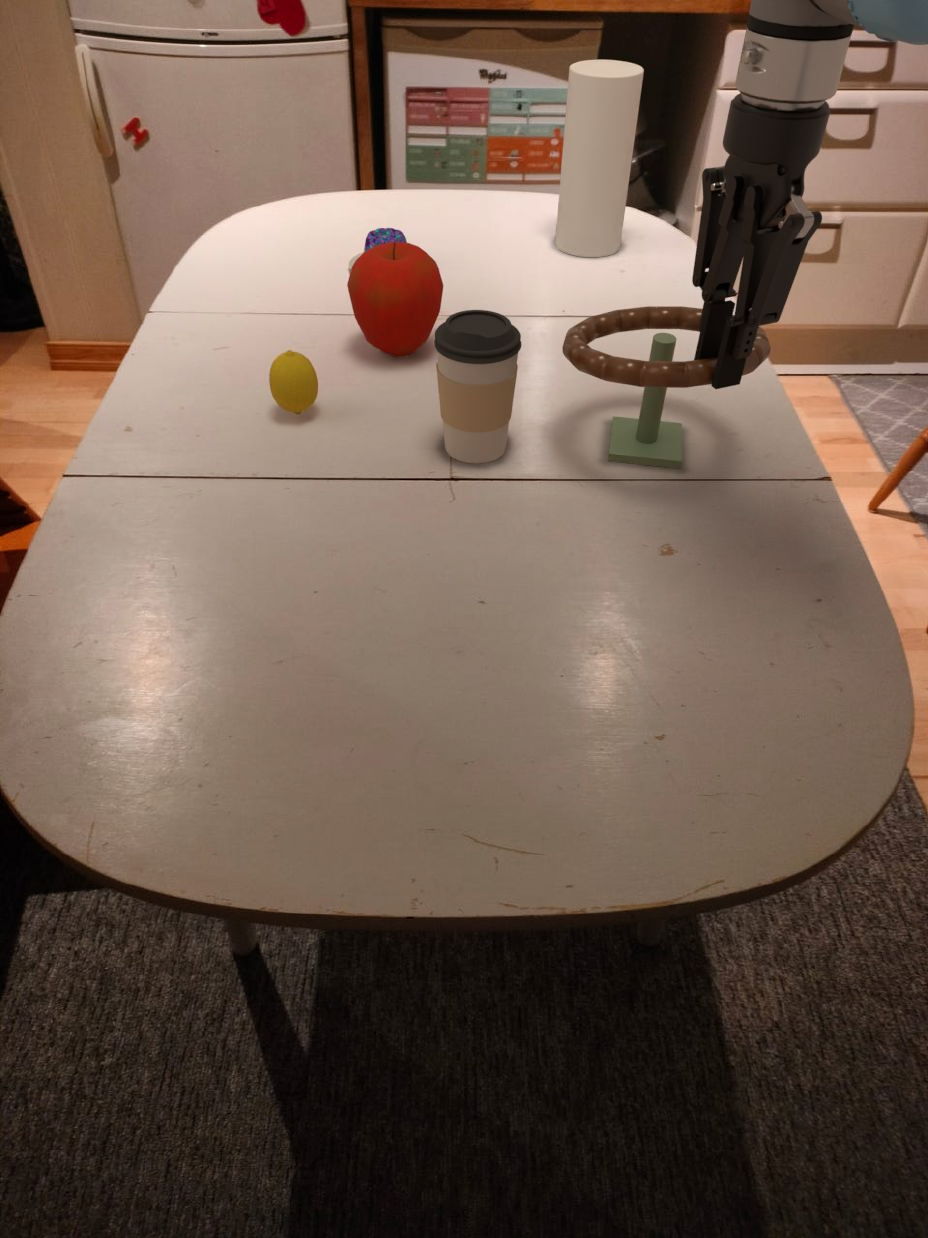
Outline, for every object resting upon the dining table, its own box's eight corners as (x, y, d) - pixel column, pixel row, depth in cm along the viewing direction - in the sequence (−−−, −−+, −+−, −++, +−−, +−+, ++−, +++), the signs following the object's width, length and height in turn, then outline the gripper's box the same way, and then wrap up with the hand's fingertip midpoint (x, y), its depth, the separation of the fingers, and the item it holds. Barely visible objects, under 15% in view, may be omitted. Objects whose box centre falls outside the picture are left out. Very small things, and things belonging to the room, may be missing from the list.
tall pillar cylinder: (602, 262, 134) (624, 79, 117) (543, 247, 138) (556, 69, 121) (630, 241, 141) (655, 65, 123) (573, 227, 145) (590, 55, 127)
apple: (368, 325, 118) (360, 219, 108) (452, 333, 116) (452, 227, 106) (341, 367, 109) (330, 256, 99) (431, 377, 107) (429, 265, 98)
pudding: (332, 271, 131) (329, 236, 127) (381, 247, 138) (379, 213, 134) (393, 290, 126) (392, 255, 122) (441, 264, 133) (440, 230, 129)
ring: (757, 325, 95) (760, 303, 94) (777, 393, 79) (782, 367, 77) (572, 324, 99) (572, 303, 97) (553, 389, 82) (554, 364, 81)
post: (680, 430, 99) (703, 324, 90) (680, 468, 93) (705, 359, 84) (611, 423, 100) (627, 317, 91) (607, 460, 94) (624, 351, 85)
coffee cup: (449, 420, 100) (449, 295, 90) (523, 432, 98) (532, 307, 88) (425, 461, 94) (421, 332, 83) (503, 475, 92) (510, 345, 82)
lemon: (322, 423, 99) (314, 360, 94) (274, 427, 99) (264, 364, 93) (320, 399, 103) (313, 337, 98) (274, 403, 103) (264, 341, 97)
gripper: (684, 77, 69) (640, 347, 86) (807, 129, 59) (729, 425, 75) (761, 70, 71) (703, 335, 88) (892, 119, 61) (799, 409, 77)
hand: (715, 376), depth 81 cm, fingers closed on ring, 3 cm apart
